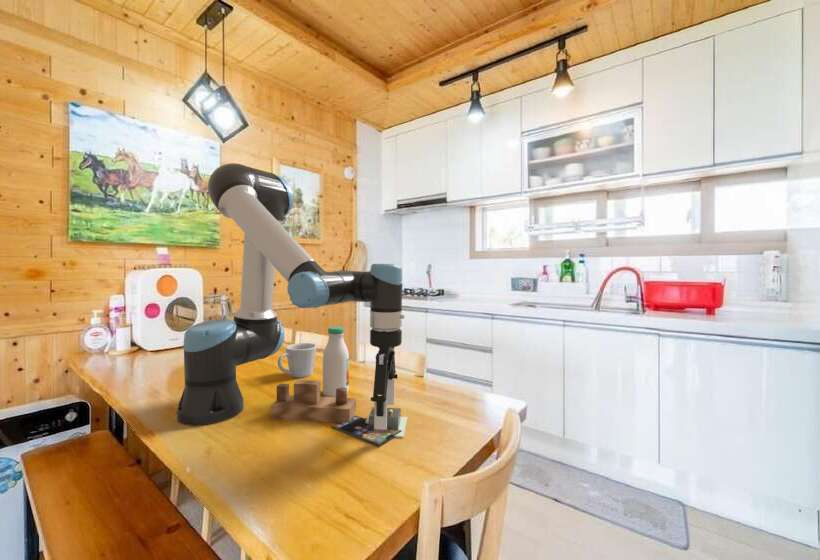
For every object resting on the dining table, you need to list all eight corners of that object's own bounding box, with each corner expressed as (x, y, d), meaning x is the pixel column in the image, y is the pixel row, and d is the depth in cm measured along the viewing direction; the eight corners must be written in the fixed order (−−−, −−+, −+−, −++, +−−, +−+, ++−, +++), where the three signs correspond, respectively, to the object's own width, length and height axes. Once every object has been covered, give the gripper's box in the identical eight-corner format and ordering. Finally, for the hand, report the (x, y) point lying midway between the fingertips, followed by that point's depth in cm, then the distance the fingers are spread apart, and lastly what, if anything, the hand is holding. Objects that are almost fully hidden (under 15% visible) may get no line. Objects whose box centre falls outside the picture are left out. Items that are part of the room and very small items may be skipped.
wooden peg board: (271, 418, 89) (270, 385, 89) (283, 407, 96) (283, 376, 96) (349, 422, 88) (349, 389, 87) (355, 411, 95) (356, 379, 94)
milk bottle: (342, 399, 103) (343, 330, 102) (318, 396, 104) (318, 329, 103) (352, 389, 110) (352, 325, 109) (329, 387, 112) (329, 324, 111)
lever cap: (368, 429, 84) (368, 411, 83) (372, 419, 89) (372, 403, 89) (398, 430, 83) (398, 413, 83) (400, 420, 88) (400, 404, 88)
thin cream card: (360, 435, 81) (360, 433, 81) (368, 416, 91) (368, 415, 91) (403, 437, 81) (403, 436, 81) (407, 418, 90) (407, 417, 90)
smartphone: (355, 417, 92) (355, 413, 92) (401, 435, 83) (401, 430, 83) (331, 429, 85) (331, 424, 85) (379, 449, 76) (379, 444, 76)
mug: (323, 373, 126) (323, 345, 126) (288, 385, 114) (288, 354, 113) (303, 368, 132) (303, 341, 131) (267, 379, 119) (267, 349, 119)
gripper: (395, 340, 72) (394, 442, 73) (406, 320, 97) (405, 396, 98) (358, 339, 73) (358, 440, 74) (379, 319, 97) (378, 395, 98)
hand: (385, 415), depth 86 cm, fingers open, 13 cm apart
